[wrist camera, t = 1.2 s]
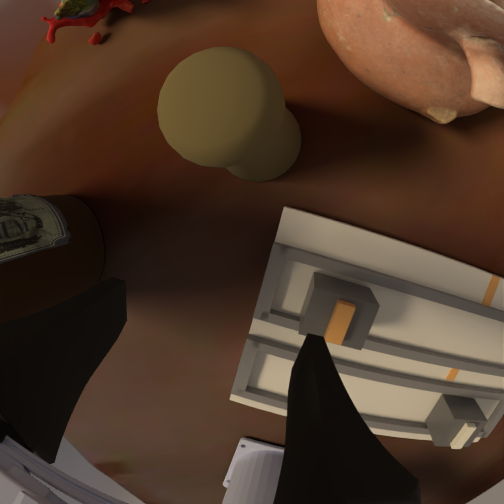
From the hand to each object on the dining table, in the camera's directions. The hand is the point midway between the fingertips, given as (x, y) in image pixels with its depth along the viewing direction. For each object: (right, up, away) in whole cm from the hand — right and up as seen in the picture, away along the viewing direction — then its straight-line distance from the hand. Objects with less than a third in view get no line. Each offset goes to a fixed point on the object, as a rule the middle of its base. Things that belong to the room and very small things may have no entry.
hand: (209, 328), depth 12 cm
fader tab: (+7, 0, +9) cm, 12 cm away
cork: (+2, +11, +9) cm, 14 cm away
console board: (+14, -5, +10) cm, 18 cm away
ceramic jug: (+14, +19, +5) cm, 24 cm away
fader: (+19, -11, +9) cm, 23 cm away
